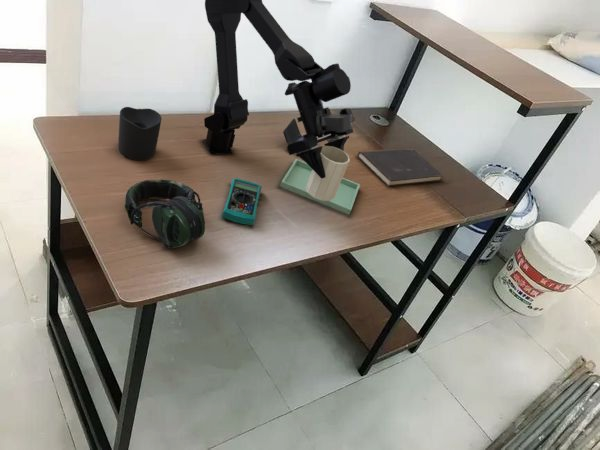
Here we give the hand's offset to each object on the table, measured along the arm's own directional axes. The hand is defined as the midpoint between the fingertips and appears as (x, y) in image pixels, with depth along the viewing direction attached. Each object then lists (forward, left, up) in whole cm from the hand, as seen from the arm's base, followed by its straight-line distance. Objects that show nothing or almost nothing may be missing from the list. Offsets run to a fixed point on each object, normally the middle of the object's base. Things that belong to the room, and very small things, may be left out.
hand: (332, 173), depth 119 cm
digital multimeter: (-17, +7, -14) cm, 23 cm away
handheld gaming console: (+13, +32, -14) cm, 38 cm away
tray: (+8, +11, -13) cm, 19 cm away
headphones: (-37, +3, -14) cm, 40 cm away
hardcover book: (+43, +18, -14) cm, 49 cm away
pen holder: (-35, +31, -14) cm, 49 cm away
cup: (-1, +1, -6) cm, 6 cm away
